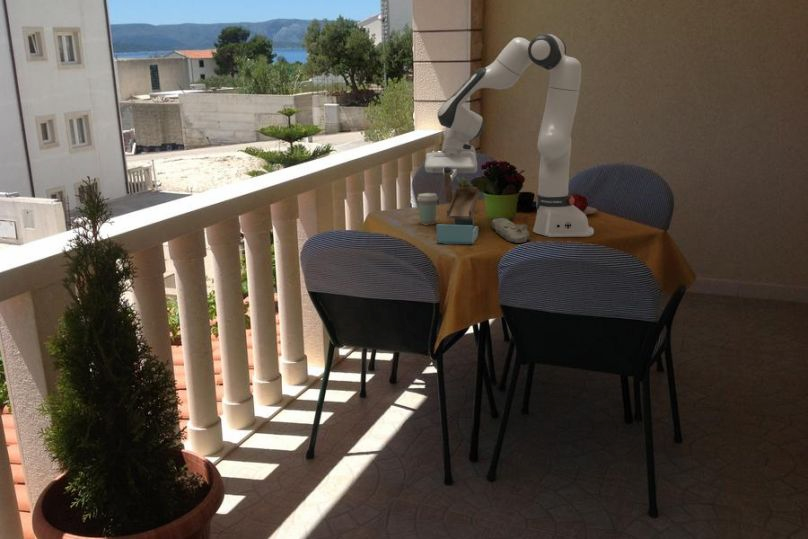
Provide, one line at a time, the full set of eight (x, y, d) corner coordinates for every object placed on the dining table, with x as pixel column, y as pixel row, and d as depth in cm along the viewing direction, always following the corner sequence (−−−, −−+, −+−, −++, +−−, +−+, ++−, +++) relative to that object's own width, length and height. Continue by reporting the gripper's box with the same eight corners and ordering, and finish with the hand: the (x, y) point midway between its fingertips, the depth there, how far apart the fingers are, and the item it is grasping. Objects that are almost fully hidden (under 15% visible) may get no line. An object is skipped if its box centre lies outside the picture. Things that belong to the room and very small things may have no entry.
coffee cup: (436, 226, 292) (436, 196, 289) (415, 225, 294) (415, 196, 291) (439, 221, 300) (439, 192, 297) (419, 221, 302) (418, 192, 299)
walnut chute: (479, 201, 286) (477, 158, 277) (471, 223, 269) (469, 178, 261) (450, 200, 289) (448, 158, 280) (440, 222, 272) (438, 178, 264)
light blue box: (477, 236, 273) (477, 218, 271) (472, 245, 261) (472, 225, 259) (443, 235, 276) (443, 217, 274) (436, 243, 264) (436, 224, 262)
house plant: (440, 212, 319) (439, 174, 315) (463, 207, 327) (463, 171, 323) (461, 216, 308) (461, 178, 304) (485, 212, 316) (485, 174, 312)
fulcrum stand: (478, 230, 283) (478, 206, 280) (475, 233, 277) (475, 209, 275) (452, 229, 285) (452, 206, 283) (449, 233, 280) (449, 209, 277)
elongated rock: (509, 227, 294) (485, 229, 293) (509, 214, 293) (484, 216, 292) (536, 242, 260) (509, 245, 259) (535, 228, 259) (508, 231, 258)
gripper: (425, 146, 283) (420, 175, 276) (478, 146, 278) (474, 175, 272) (428, 156, 288) (423, 184, 282) (479, 156, 283) (475, 185, 277)
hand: (448, 180), depth 277 cm, fingers closed
